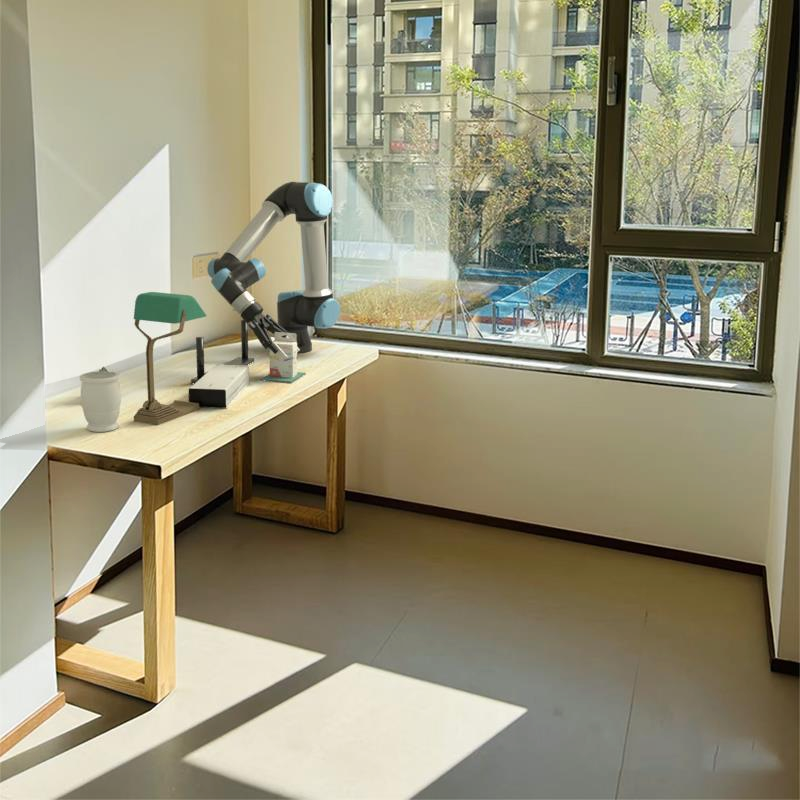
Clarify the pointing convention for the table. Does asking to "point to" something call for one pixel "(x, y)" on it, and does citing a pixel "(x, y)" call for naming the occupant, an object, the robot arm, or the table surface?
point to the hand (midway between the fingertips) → (290, 356)
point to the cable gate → (237, 361)
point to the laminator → (219, 385)
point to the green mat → (283, 378)
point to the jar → (100, 400)
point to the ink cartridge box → (290, 349)
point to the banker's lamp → (165, 311)
